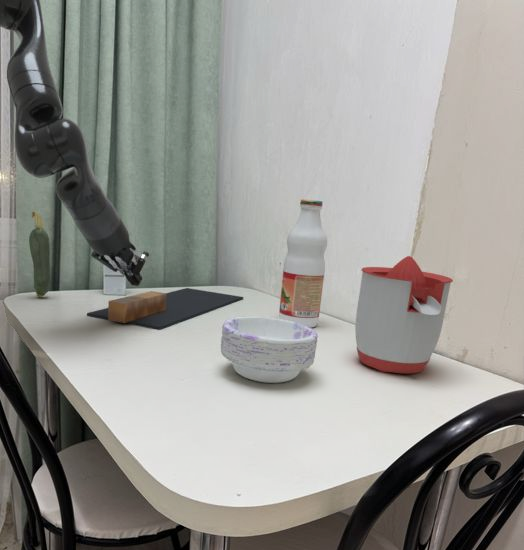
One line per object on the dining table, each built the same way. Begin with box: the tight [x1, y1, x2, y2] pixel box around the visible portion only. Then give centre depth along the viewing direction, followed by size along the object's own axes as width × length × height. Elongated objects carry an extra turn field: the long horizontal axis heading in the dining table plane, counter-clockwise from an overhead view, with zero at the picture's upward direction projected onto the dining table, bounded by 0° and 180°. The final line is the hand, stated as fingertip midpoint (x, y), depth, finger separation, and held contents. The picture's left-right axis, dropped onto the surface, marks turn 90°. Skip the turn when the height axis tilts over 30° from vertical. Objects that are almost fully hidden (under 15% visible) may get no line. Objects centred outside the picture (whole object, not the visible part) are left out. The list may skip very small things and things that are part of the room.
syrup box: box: [102, 262, 127, 296], centre depth 132 cm, size 6×6×14 cm
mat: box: [86, 287, 244, 331], centre depth 125 cm, size 44×18×1 cm, turn 159°
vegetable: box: [28, 210, 51, 299], centre depth 117 cm, size 4×4×20 cm
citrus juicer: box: [354, 255, 454, 374], centre depth 90 cm, size 16×17×20 cm
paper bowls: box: [220, 315, 319, 384], centre depth 81 cm, size 15×15×8 cm
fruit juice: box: [278, 199, 328, 329], centre depth 115 cm, size 9×9×28 cm
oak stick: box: [107, 290, 167, 324], centre depth 110 cm, size 4×4×16 cm
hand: (137, 282), depth 108 cm, fingers closed
